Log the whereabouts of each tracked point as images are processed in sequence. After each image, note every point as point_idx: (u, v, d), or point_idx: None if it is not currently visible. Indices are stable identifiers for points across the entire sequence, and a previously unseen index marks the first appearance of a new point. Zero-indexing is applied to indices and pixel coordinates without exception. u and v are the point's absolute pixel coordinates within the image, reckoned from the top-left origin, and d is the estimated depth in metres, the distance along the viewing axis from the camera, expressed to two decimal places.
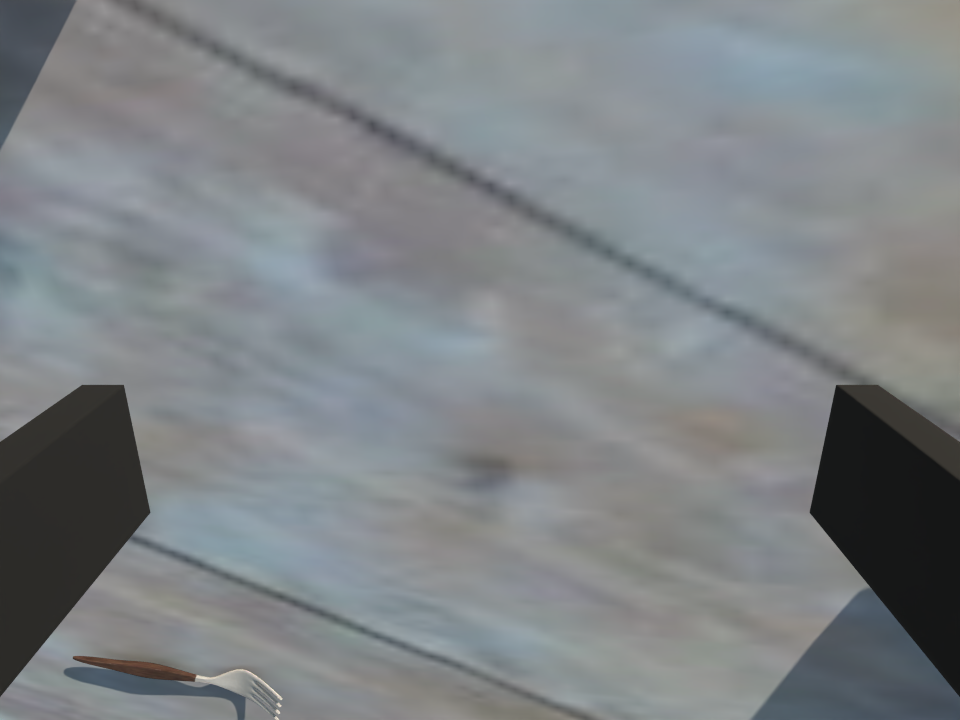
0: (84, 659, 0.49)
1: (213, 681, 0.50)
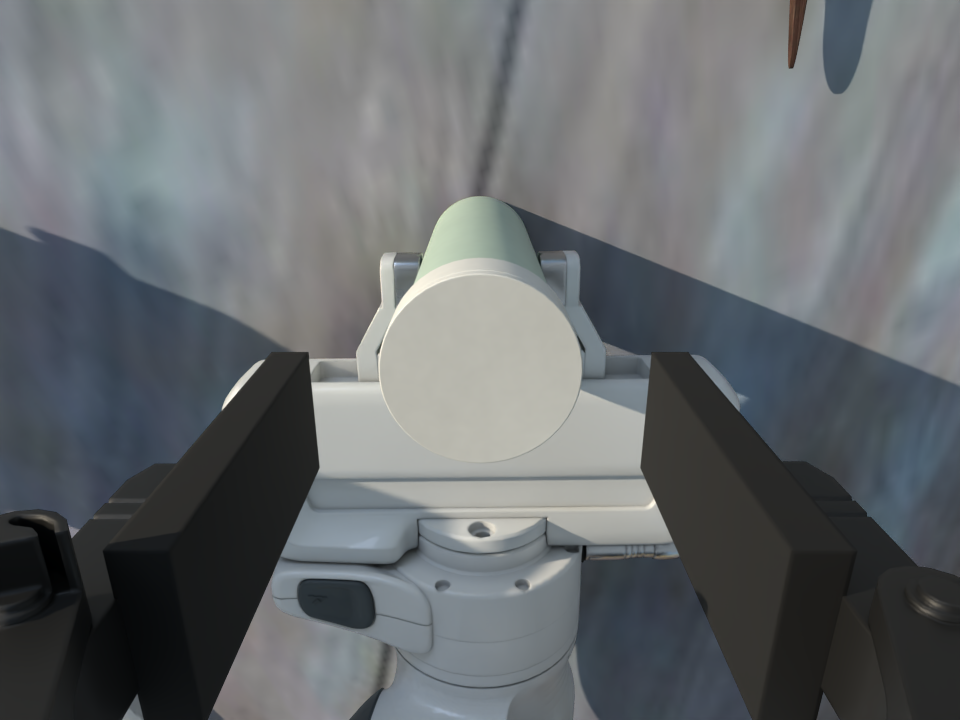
0: (791, 44, 0.27)
1: None
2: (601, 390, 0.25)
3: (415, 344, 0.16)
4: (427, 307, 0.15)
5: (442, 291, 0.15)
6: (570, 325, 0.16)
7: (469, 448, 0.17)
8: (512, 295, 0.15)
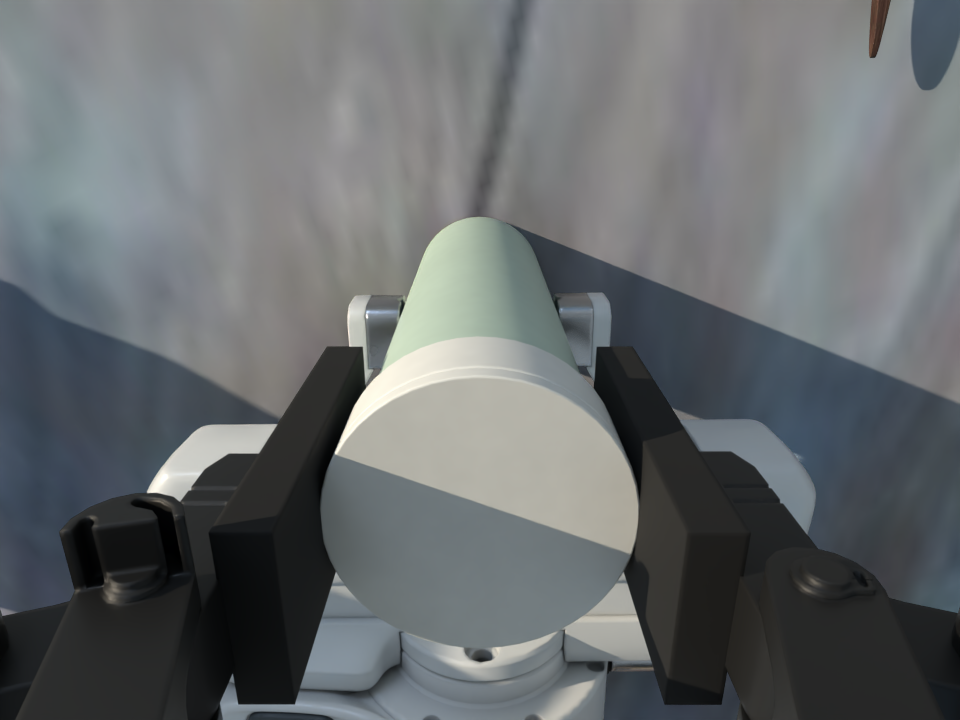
0: (874, 27, 0.21)
1: None
2: None
3: (376, 481, 0.10)
4: (394, 426, 0.10)
5: (418, 402, 0.09)
6: (622, 453, 0.10)
7: (462, 628, 0.11)
8: (530, 408, 0.10)
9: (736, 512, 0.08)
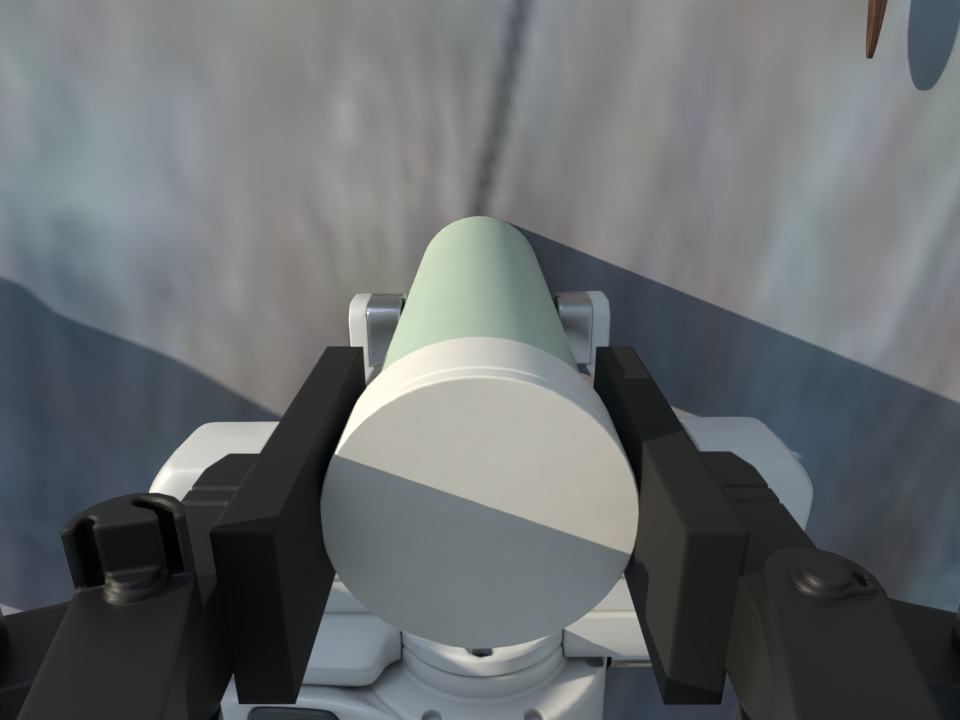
0: (871, 28, 0.22)
1: None
2: None
3: (494, 613, 0.11)
4: (437, 625, 0.11)
5: (405, 621, 0.11)
6: (331, 463, 0.10)
7: (602, 474, 0.10)
8: (350, 550, 0.10)
9: (735, 512, 0.08)
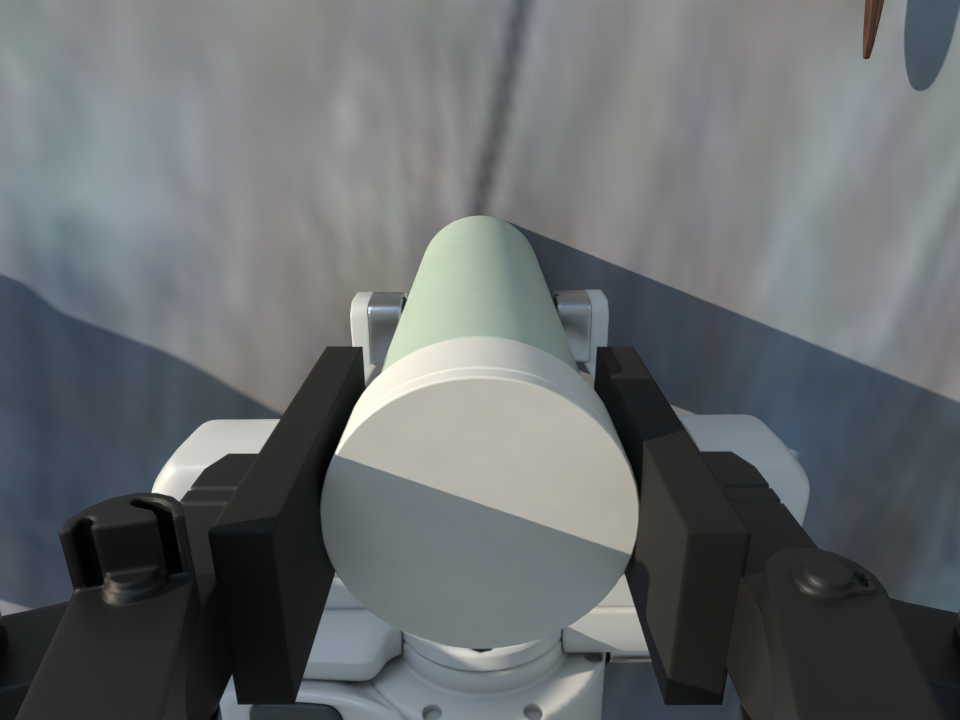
0: (868, 28, 0.22)
1: None
2: None
3: (566, 458, 0.10)
4: (612, 495, 0.10)
5: (625, 522, 0.10)
6: (500, 646, 0.11)
7: (360, 467, 0.10)
8: (574, 598, 0.11)
9: (736, 512, 0.08)
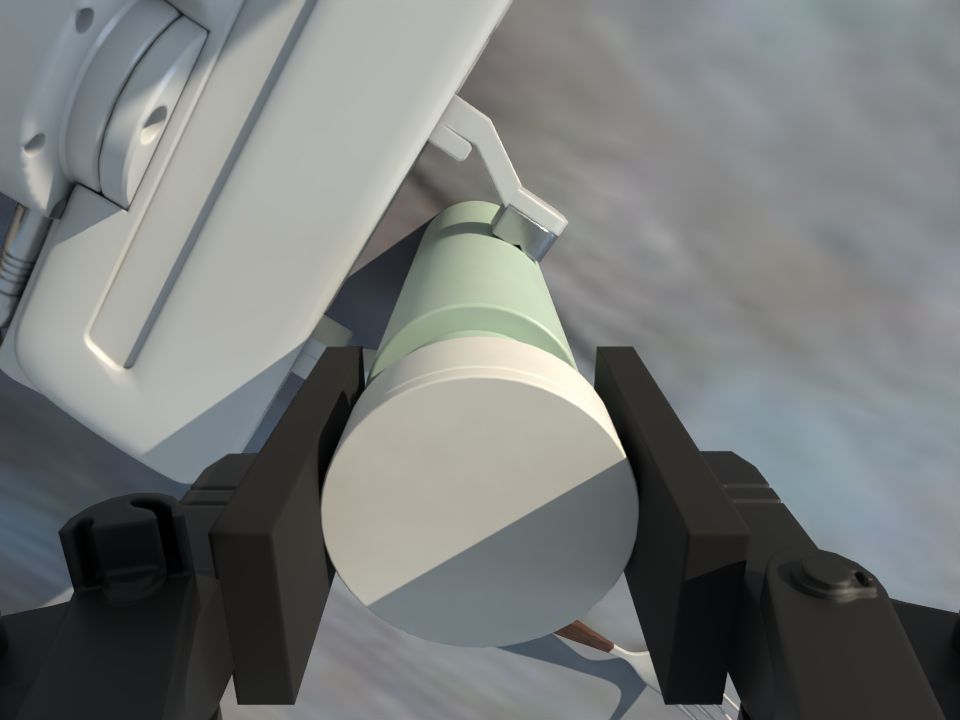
0: None
1: (633, 658, 0.34)
2: (279, 368, 0.20)
3: (566, 457, 0.10)
4: (612, 494, 0.10)
5: (624, 521, 0.10)
6: (500, 645, 0.11)
7: (361, 466, 0.10)
8: (574, 597, 0.11)
9: (737, 512, 0.08)
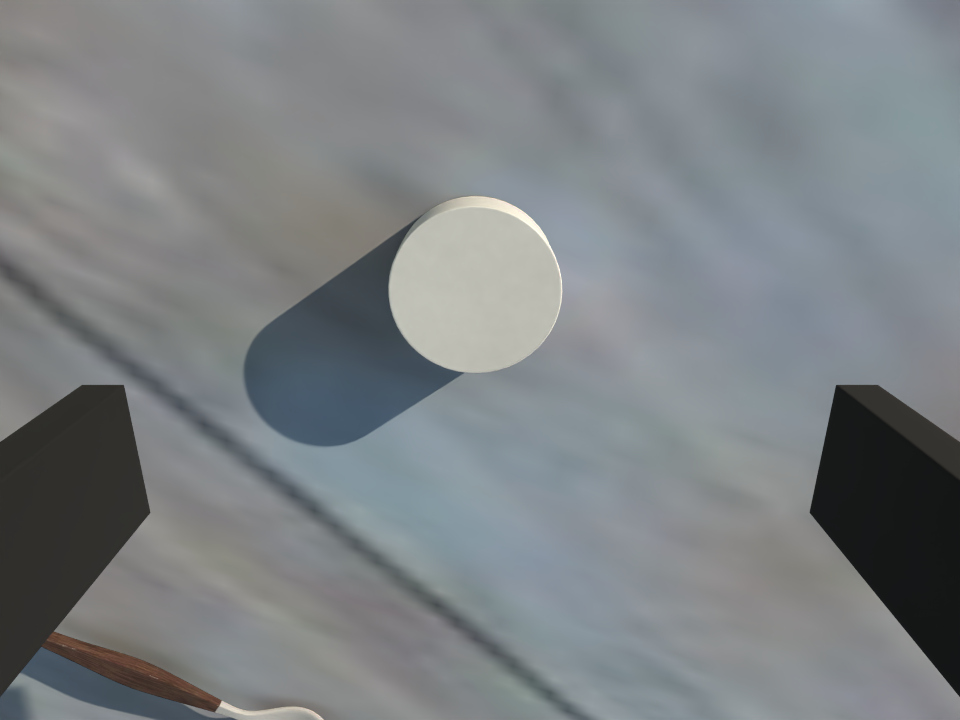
0: None
1: (249, 719, 0.27)
2: None
3: (521, 254, 0.18)
4: (546, 276, 0.19)
5: (554, 292, 0.19)
6: (487, 371, 0.20)
7: (411, 259, 0.18)
8: (528, 340, 0.19)
9: None
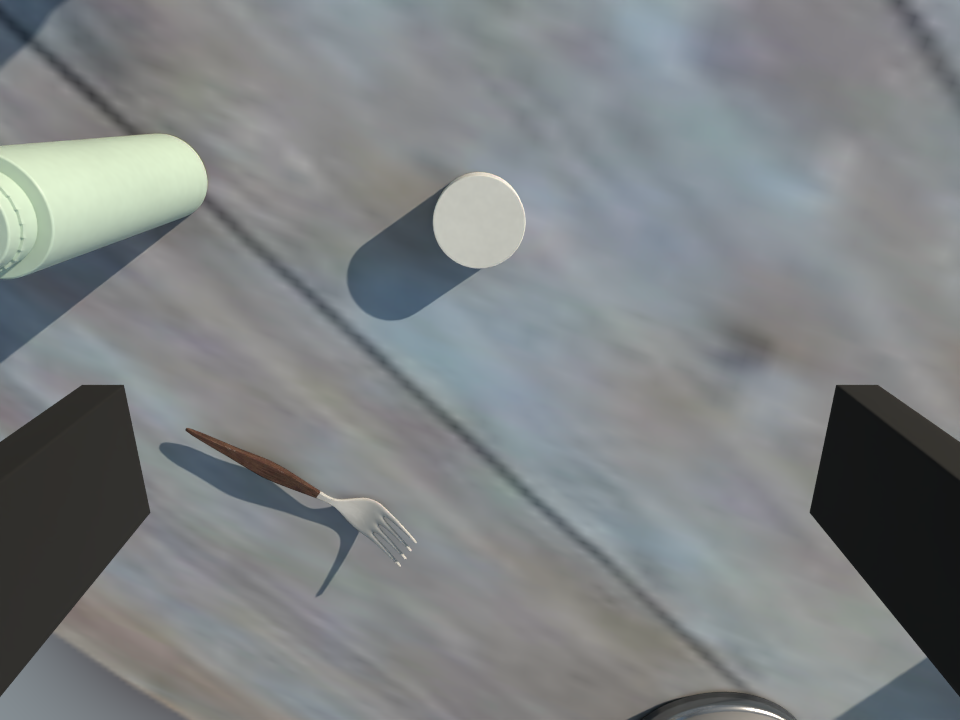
0: (199, 434, 0.41)
1: (337, 503, 0.43)
2: None
3: (503, 201, 0.35)
4: (516, 213, 0.35)
5: (520, 222, 0.35)
6: (485, 267, 0.36)
7: (445, 203, 0.35)
8: (507, 249, 0.36)
9: None
